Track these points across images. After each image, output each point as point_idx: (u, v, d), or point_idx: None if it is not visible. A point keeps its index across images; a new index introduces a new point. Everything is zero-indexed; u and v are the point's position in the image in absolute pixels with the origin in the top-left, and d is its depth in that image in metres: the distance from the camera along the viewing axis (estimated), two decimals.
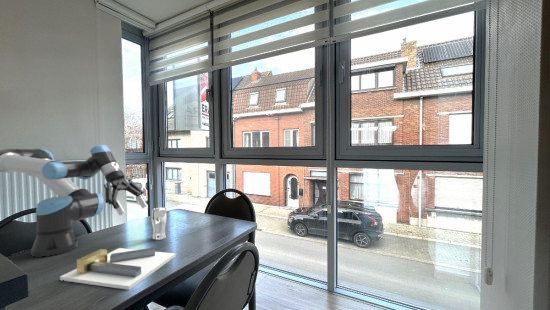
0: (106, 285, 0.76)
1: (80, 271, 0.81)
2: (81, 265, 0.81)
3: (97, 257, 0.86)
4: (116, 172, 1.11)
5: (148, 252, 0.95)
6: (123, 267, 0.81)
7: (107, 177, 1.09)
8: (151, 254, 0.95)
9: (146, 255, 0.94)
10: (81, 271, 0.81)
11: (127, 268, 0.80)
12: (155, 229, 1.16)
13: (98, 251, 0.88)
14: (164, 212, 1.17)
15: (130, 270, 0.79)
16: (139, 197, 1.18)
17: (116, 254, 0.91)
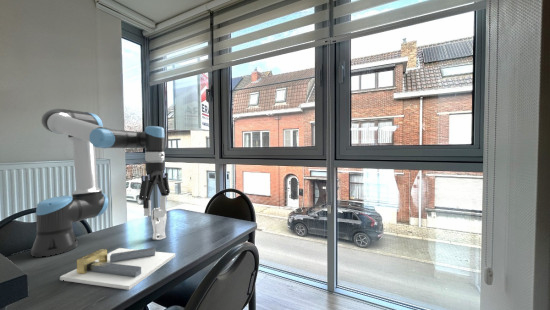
0: (106, 285, 0.76)
1: (80, 271, 0.81)
2: (81, 265, 0.81)
3: (97, 257, 0.86)
4: (159, 165, 0.99)
5: (148, 252, 0.95)
6: (123, 267, 0.81)
7: (148, 166, 0.97)
8: (151, 254, 0.95)
9: (146, 255, 0.94)
10: (81, 271, 0.81)
11: (127, 268, 0.80)
12: (155, 229, 1.16)
13: (98, 251, 0.88)
14: (164, 212, 1.17)
15: (130, 270, 0.79)
16: (163, 198, 1.06)
17: (116, 254, 0.91)
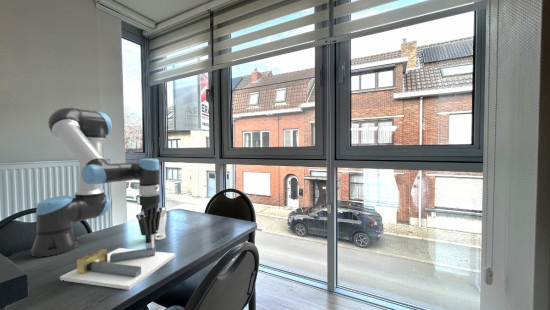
0: (106, 285, 0.76)
1: (80, 271, 0.81)
2: (81, 265, 0.81)
3: (97, 257, 0.86)
4: (154, 199, 0.96)
5: (148, 252, 0.95)
6: (123, 267, 0.81)
7: (142, 200, 0.94)
8: (151, 254, 0.95)
9: (146, 255, 0.94)
10: (81, 271, 0.81)
11: (127, 268, 0.80)
12: None
13: (98, 251, 0.88)
14: (164, 212, 1.17)
15: (130, 270, 0.79)
16: None
17: (116, 254, 0.91)
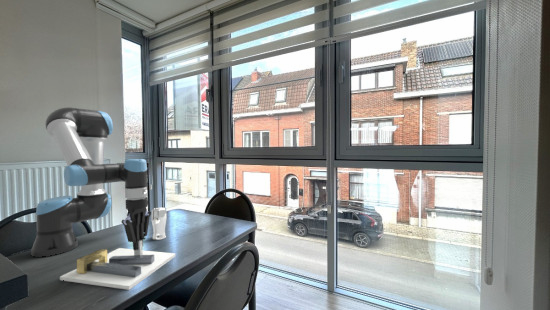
0: (106, 285, 0.76)
1: (80, 271, 0.81)
2: (81, 265, 0.81)
3: (97, 257, 0.86)
4: (141, 202, 0.89)
5: (145, 259, 0.88)
6: (123, 267, 0.81)
7: (128, 204, 0.87)
8: (148, 262, 0.88)
9: (143, 262, 0.88)
10: (81, 271, 0.81)
11: (127, 268, 0.80)
12: (155, 229, 1.16)
13: (98, 251, 0.88)
14: (164, 212, 1.17)
15: (130, 270, 0.79)
16: None
17: (115, 257, 0.88)
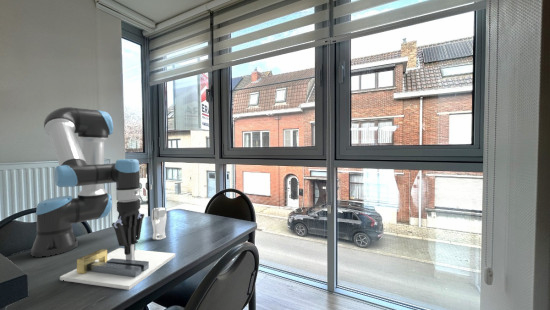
0: (106, 285, 0.76)
1: (80, 271, 0.81)
2: (81, 265, 0.81)
3: (97, 257, 0.86)
4: (133, 205, 0.85)
5: None
6: (123, 267, 0.81)
7: (119, 206, 0.83)
8: None
9: None
10: (81, 271, 0.81)
11: (127, 268, 0.80)
12: (155, 229, 1.16)
13: (98, 251, 0.88)
14: (164, 212, 1.17)
15: (130, 270, 0.79)
16: None
17: (113, 260, 0.86)
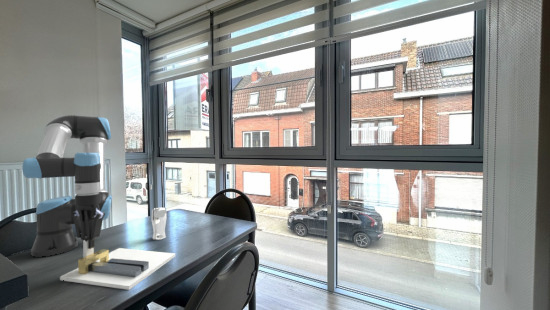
0: (106, 285, 0.76)
1: (81, 271, 0.81)
2: (82, 265, 0.81)
3: (98, 257, 0.86)
4: (75, 199, 0.83)
5: None
6: (123, 267, 0.81)
7: None
8: None
9: None
10: (83, 271, 0.81)
11: (127, 268, 0.80)
12: (155, 229, 1.16)
13: (99, 251, 0.88)
14: (164, 212, 1.17)
15: (130, 270, 0.79)
16: None
17: (113, 260, 0.86)
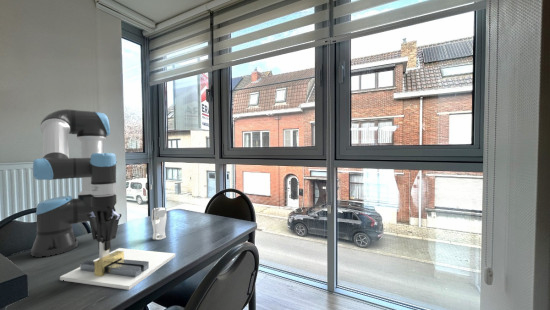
0: (106, 285, 0.76)
1: (98, 273, 0.80)
2: (99, 267, 0.80)
3: (114, 259, 0.85)
4: (91, 200, 0.81)
5: None
6: (123, 267, 0.81)
7: None
8: None
9: None
10: (99, 273, 0.80)
11: (127, 268, 0.80)
12: (155, 229, 1.16)
13: (115, 253, 0.87)
14: (164, 212, 1.17)
15: (130, 270, 0.79)
16: None
17: None
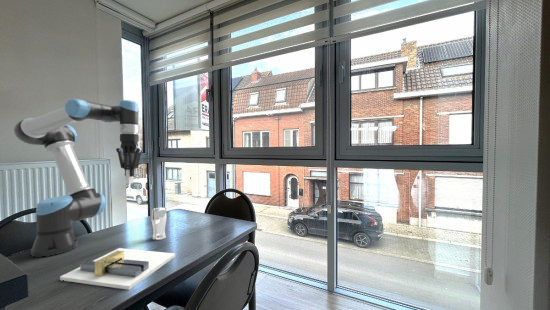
0: (106, 285, 0.76)
1: (98, 273, 0.80)
2: (99, 267, 0.80)
3: (114, 259, 0.84)
4: (120, 136, 1.06)
5: None
6: (123, 267, 0.81)
7: None
8: None
9: None
10: (100, 273, 0.80)
11: (127, 268, 0.80)
12: (155, 229, 1.16)
13: (115, 253, 0.87)
14: (164, 212, 1.17)
15: (130, 270, 0.79)
16: None
17: None
